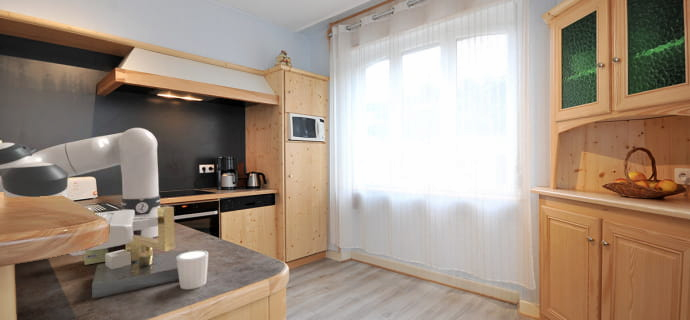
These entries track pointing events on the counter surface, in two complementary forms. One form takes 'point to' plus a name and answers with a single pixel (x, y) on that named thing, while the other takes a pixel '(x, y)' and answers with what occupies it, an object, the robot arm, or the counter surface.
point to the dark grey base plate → (135, 275)
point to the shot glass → (192, 269)
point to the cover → (118, 259)
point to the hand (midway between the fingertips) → (157, 221)
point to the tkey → (144, 245)
